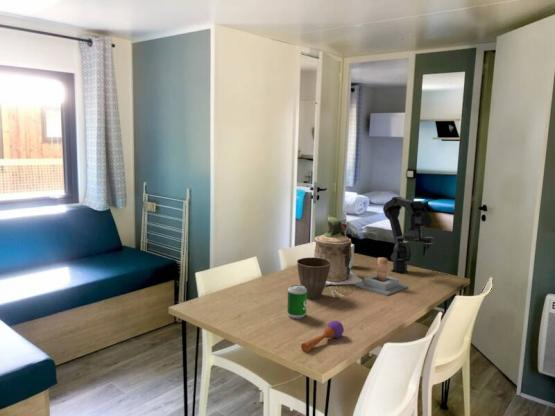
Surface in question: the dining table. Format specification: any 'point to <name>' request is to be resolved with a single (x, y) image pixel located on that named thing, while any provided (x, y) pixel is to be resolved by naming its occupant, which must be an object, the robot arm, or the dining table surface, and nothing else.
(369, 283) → the socket block
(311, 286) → the plant pot
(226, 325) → the dining table surface
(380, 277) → the peg
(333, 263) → the cookie jar
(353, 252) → the supplement box
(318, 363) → the dining table surface
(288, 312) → the soda can
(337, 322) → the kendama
